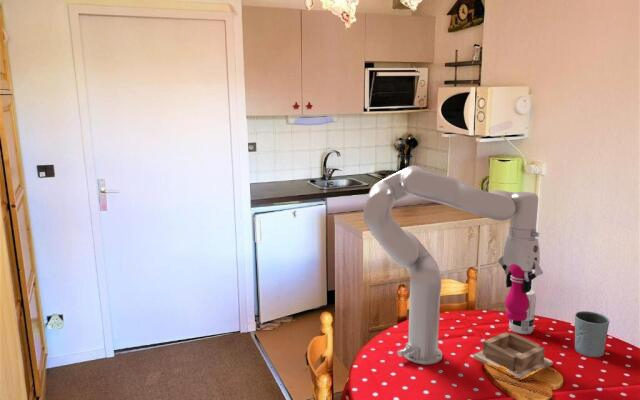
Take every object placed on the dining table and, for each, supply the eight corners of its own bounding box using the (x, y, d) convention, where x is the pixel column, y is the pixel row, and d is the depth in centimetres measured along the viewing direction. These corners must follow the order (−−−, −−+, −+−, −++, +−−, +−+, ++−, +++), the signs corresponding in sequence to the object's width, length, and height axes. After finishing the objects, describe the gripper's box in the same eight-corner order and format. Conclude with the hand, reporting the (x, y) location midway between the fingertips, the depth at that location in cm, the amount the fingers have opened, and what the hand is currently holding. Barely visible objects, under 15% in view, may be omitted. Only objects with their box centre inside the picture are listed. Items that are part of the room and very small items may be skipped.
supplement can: (504, 326, 184) (506, 288, 181) (522, 323, 186) (525, 285, 183) (518, 336, 176) (522, 296, 173) (538, 333, 179) (541, 293, 176)
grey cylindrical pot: (597, 361, 159) (601, 326, 157) (566, 349, 167) (569, 316, 164) (610, 351, 165) (614, 317, 163) (579, 340, 173) (582, 308, 171)
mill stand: (519, 381, 148) (520, 364, 147) (473, 357, 162) (474, 341, 161) (552, 364, 157) (553, 348, 156) (506, 343, 171) (507, 328, 170)
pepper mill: (530, 322, 152) (535, 260, 148) (505, 320, 154) (510, 258, 150) (526, 313, 159) (530, 253, 155) (502, 311, 161) (506, 251, 157)
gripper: (555, 237, 146) (550, 295, 150) (505, 225, 160) (502, 279, 164) (540, 241, 142) (535, 300, 146) (490, 228, 156) (487, 283, 160)
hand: (518, 288), depth 155 cm, fingers closed on pepper mill, 5 cm apart
